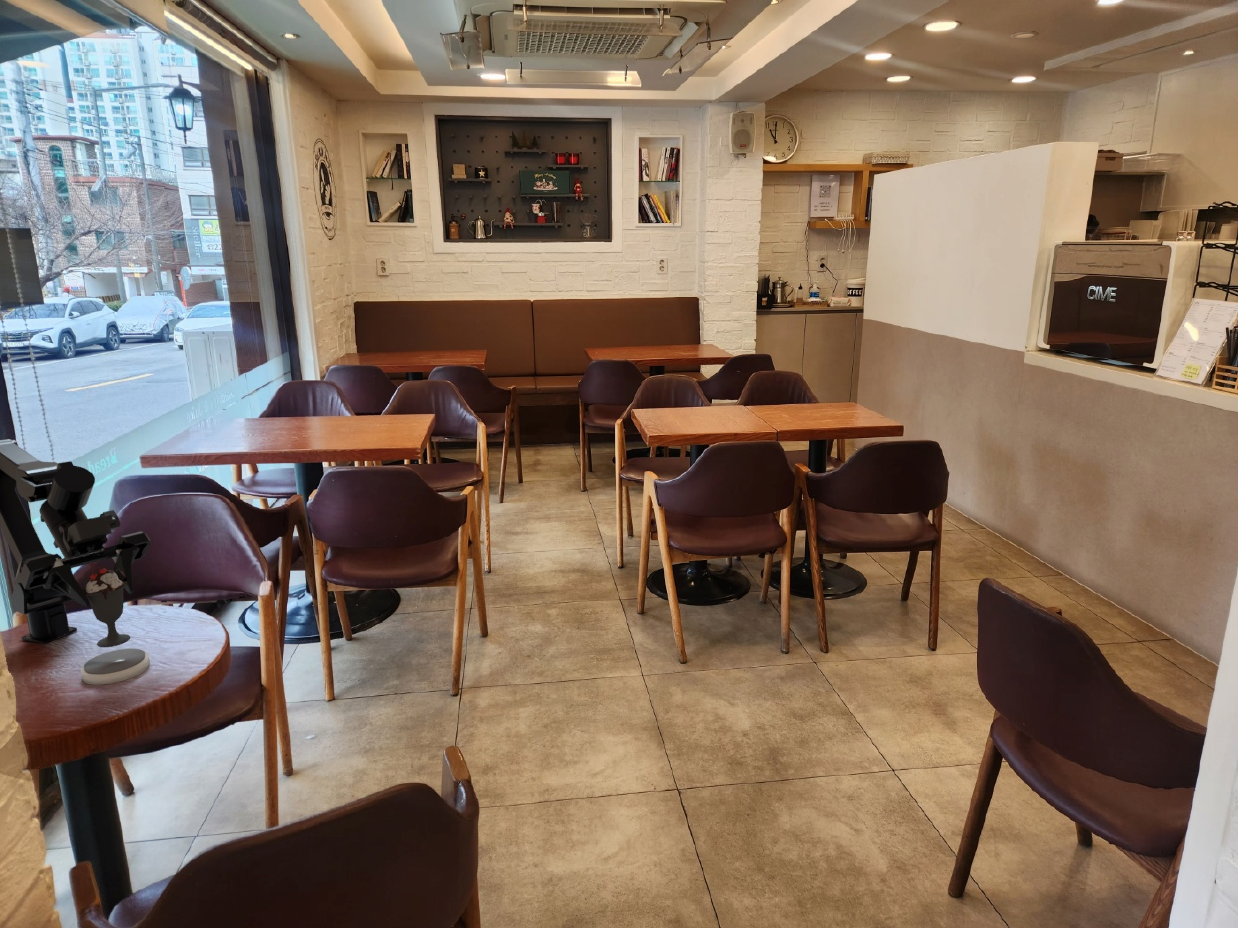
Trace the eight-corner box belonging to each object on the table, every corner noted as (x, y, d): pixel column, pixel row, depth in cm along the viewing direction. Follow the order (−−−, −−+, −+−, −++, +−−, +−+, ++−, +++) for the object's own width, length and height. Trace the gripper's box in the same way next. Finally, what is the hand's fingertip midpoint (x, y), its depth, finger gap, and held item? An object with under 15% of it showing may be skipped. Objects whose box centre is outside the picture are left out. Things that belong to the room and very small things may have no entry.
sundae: (88, 653, 130) (73, 568, 127) (93, 637, 136) (79, 556, 133) (134, 644, 133) (121, 561, 130) (137, 630, 139) (124, 550, 136)
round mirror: (67, 679, 132) (65, 668, 132) (121, 654, 142) (119, 644, 141) (111, 688, 129) (109, 677, 129) (163, 661, 139) (161, 651, 138)
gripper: (14, 512, 124) (57, 591, 120) (138, 487, 139) (179, 557, 136) (2, 550, 130) (43, 627, 126) (122, 523, 145) (161, 590, 142)
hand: (110, 598), depth 132 cm, fingers closed on sundae, 6 cm apart
